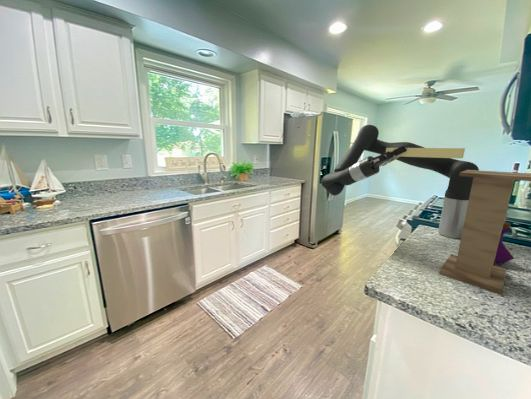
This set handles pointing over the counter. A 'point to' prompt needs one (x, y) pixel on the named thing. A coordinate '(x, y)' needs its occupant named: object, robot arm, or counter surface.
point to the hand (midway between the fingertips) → (407, 148)
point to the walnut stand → (483, 230)
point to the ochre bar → (432, 152)
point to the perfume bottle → (502, 252)
